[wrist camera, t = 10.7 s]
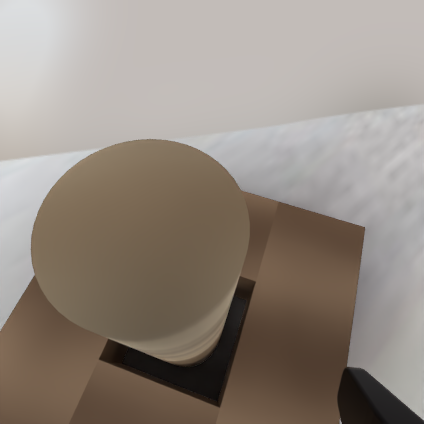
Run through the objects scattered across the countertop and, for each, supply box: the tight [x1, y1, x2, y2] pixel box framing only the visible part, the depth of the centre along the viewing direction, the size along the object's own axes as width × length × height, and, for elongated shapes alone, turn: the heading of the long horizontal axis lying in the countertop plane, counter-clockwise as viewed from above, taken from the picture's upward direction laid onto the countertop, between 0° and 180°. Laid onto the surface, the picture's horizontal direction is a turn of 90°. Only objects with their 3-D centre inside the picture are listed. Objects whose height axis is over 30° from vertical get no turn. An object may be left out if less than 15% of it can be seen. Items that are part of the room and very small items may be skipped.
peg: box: [31, 139, 250, 367], centre depth 11 cm, size 4×4×14 cm
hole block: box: [0, 191, 365, 424], centre depth 16 cm, size 14×14×4 cm
